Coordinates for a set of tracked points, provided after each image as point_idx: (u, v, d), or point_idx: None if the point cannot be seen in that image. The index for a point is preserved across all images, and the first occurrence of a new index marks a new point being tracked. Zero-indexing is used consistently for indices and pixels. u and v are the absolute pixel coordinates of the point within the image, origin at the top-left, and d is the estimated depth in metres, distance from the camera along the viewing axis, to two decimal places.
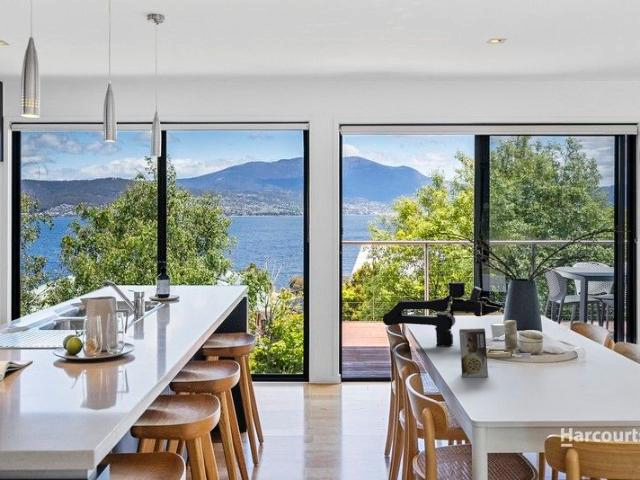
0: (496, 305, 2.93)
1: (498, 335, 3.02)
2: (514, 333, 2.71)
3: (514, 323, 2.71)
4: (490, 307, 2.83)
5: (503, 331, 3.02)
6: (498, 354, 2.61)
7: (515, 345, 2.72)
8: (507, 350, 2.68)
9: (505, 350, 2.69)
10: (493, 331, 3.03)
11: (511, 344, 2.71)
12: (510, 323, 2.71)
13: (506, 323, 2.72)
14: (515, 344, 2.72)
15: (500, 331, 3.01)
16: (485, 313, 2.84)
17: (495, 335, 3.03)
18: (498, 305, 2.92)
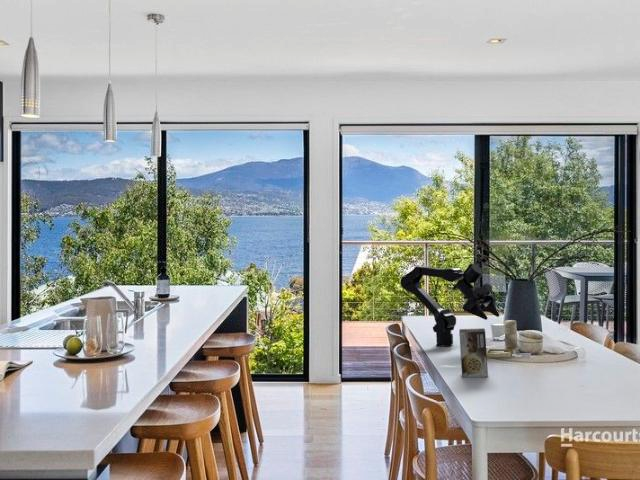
0: (494, 311, 2.84)
1: (498, 335, 3.02)
2: (514, 333, 2.71)
3: (514, 323, 2.71)
4: (480, 311, 2.77)
5: (503, 331, 3.02)
6: (498, 354, 2.61)
7: (515, 345, 2.72)
8: (507, 350, 2.68)
9: (505, 350, 2.69)
10: (493, 331, 3.03)
11: (511, 344, 2.71)
12: (510, 323, 2.71)
13: (506, 323, 2.72)
14: (515, 344, 2.72)
15: (500, 331, 3.01)
16: (472, 312, 2.79)
17: (495, 335, 3.03)
18: (496, 312, 2.83)
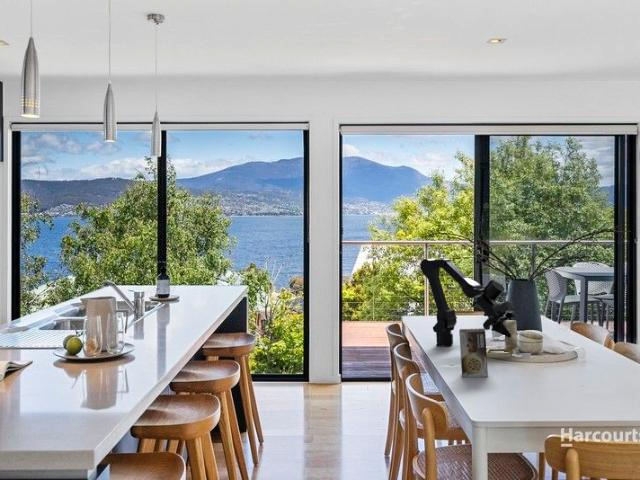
0: None
1: (498, 335, 3.02)
2: (514, 333, 2.71)
3: (514, 323, 2.71)
4: (503, 329, 2.71)
5: None
6: (498, 354, 2.61)
7: (515, 345, 2.72)
8: (507, 350, 2.68)
9: (505, 350, 2.69)
10: (493, 331, 3.03)
11: (511, 344, 2.71)
12: (510, 323, 2.71)
13: (506, 323, 2.72)
14: (515, 344, 2.72)
15: None
16: (496, 330, 2.73)
17: (495, 335, 3.02)
18: None
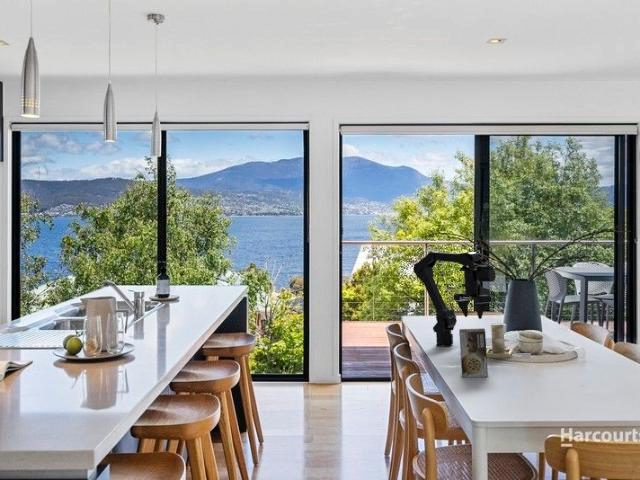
0: (466, 310, 2.91)
1: None
2: (500, 337, 2.63)
3: (500, 327, 2.63)
4: (482, 310, 2.82)
5: None
6: (498, 354, 2.61)
7: (501, 350, 2.64)
8: (507, 350, 2.68)
9: (505, 350, 2.69)
10: None
11: (496, 348, 2.64)
12: (495, 327, 2.64)
13: (492, 327, 2.65)
14: (501, 349, 2.64)
15: None
16: (478, 306, 2.80)
17: None
18: (466, 312, 2.91)
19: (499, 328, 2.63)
